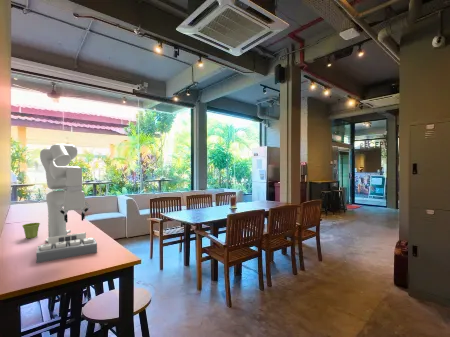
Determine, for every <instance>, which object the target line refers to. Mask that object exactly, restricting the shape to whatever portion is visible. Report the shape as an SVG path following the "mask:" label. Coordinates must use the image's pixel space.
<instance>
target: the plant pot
mask: <svg viewBox="0 0 450 337" xmlns="http://www.w3.org/2000/svg"><path fill="white" fill-rule="evenodd" d="M40 225H41V223H40V222H31V223H25V224H22V228H23V230H24V231H23V232H24V237H25V239H27V240H28V239H34V238H37V237H38V232H39V227H40Z"/></svg>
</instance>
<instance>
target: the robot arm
mask: <svg viewBox="0 0 450 337" xmlns="http://www.w3.org/2000/svg"><path fill="white" fill-rule="evenodd" d="M77 156H78V148H77V147H76V146H75V145H74V144H69V143H68V144H66V143H55V144H52V145H51V146H50V147H47V148H44V149H41V150H40V151H39V159H40V162H41V164H42V166H43V168H44V170H45V176H46V177H45V178H46V184H47V187H48V189H49V190H53V191H49V192H47V194H46V197H45V200H46V204H47V212H48V213H47V214H48V215H47V217H48V218H47V223H48V225H47V226H48V232H47V234H48V235H47V236H48V237H55V236H63V235H69V234H70V233H71V230H70V229H68V230H67V223H68V212H69V211H78V210H80V211H81V219H80V220H81V221H82V222H83V221H84V220H85V217H86V216H85V214H86V213H87V212H88V211H89V209H91V207H92V205H90V203H88V202H86V195H85V191H84V190H83V170H82V169H83V168H82V167H81V166H77V165H71V166H70V165H69V164H70V163H71V162H72V160H73V159H75V158H77ZM48 237H46V238H45V242H46V243H48Z"/></svg>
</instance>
